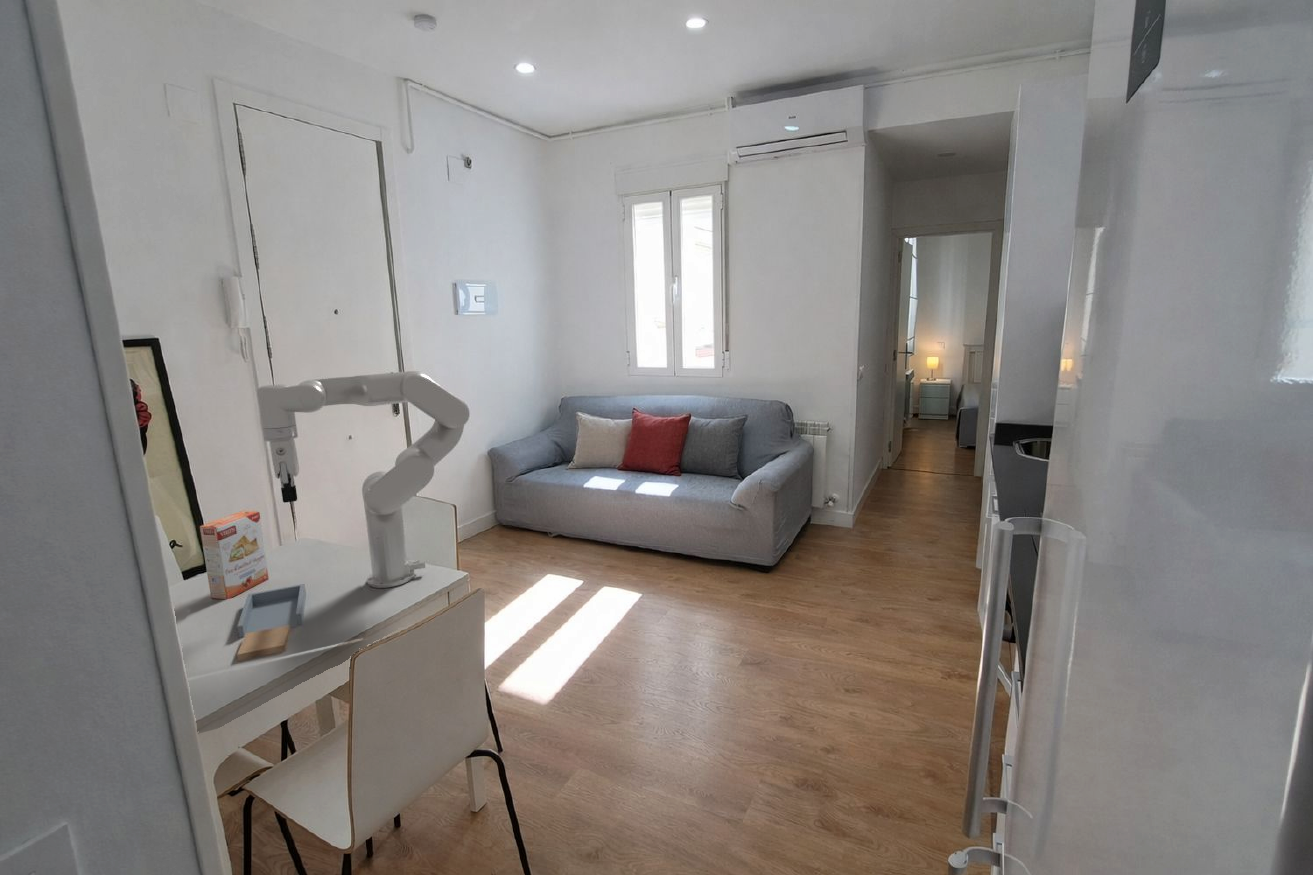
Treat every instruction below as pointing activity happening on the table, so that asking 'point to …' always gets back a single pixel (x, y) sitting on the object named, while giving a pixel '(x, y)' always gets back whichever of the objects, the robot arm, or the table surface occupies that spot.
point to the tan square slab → (264, 642)
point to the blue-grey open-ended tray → (273, 609)
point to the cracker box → (234, 554)
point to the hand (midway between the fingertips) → (290, 500)
